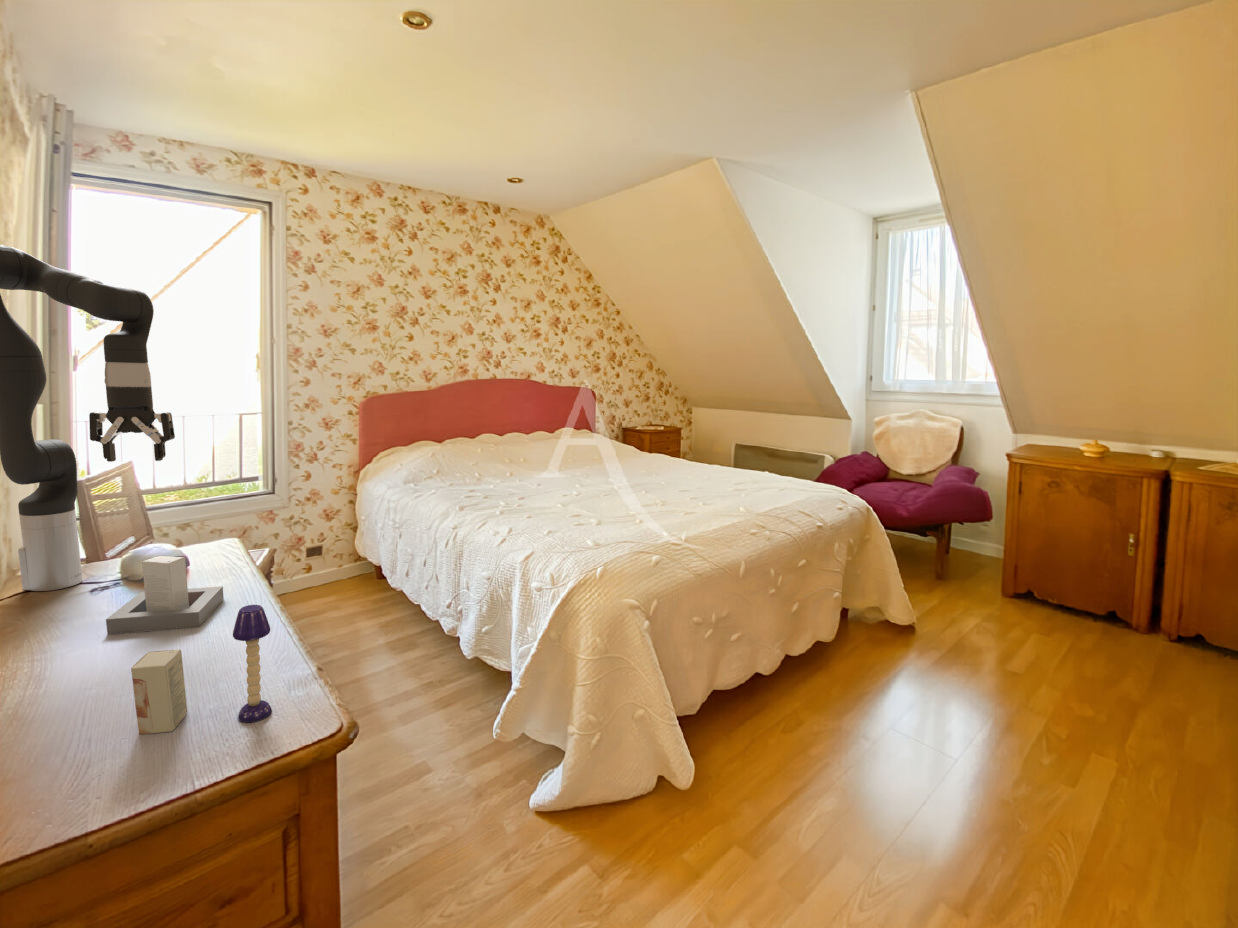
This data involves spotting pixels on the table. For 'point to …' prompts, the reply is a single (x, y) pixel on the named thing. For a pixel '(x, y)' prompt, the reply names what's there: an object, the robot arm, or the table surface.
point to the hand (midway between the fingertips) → (135, 460)
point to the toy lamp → (252, 659)
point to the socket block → (165, 613)
